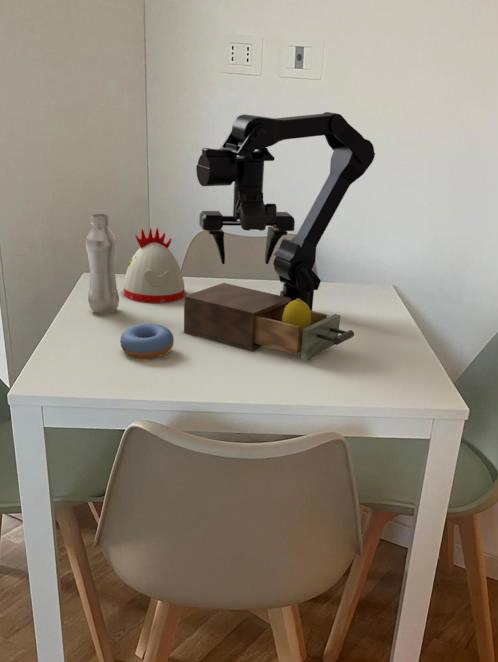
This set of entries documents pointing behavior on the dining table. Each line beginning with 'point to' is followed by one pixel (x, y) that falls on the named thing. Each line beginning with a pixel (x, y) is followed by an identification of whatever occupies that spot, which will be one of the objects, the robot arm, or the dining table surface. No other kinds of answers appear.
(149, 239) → the kitchen timer
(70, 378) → the dining table surface
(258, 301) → the cabinet
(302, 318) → the lemon
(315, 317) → the drawer
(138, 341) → the doughnut
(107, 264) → the plastic bottle
